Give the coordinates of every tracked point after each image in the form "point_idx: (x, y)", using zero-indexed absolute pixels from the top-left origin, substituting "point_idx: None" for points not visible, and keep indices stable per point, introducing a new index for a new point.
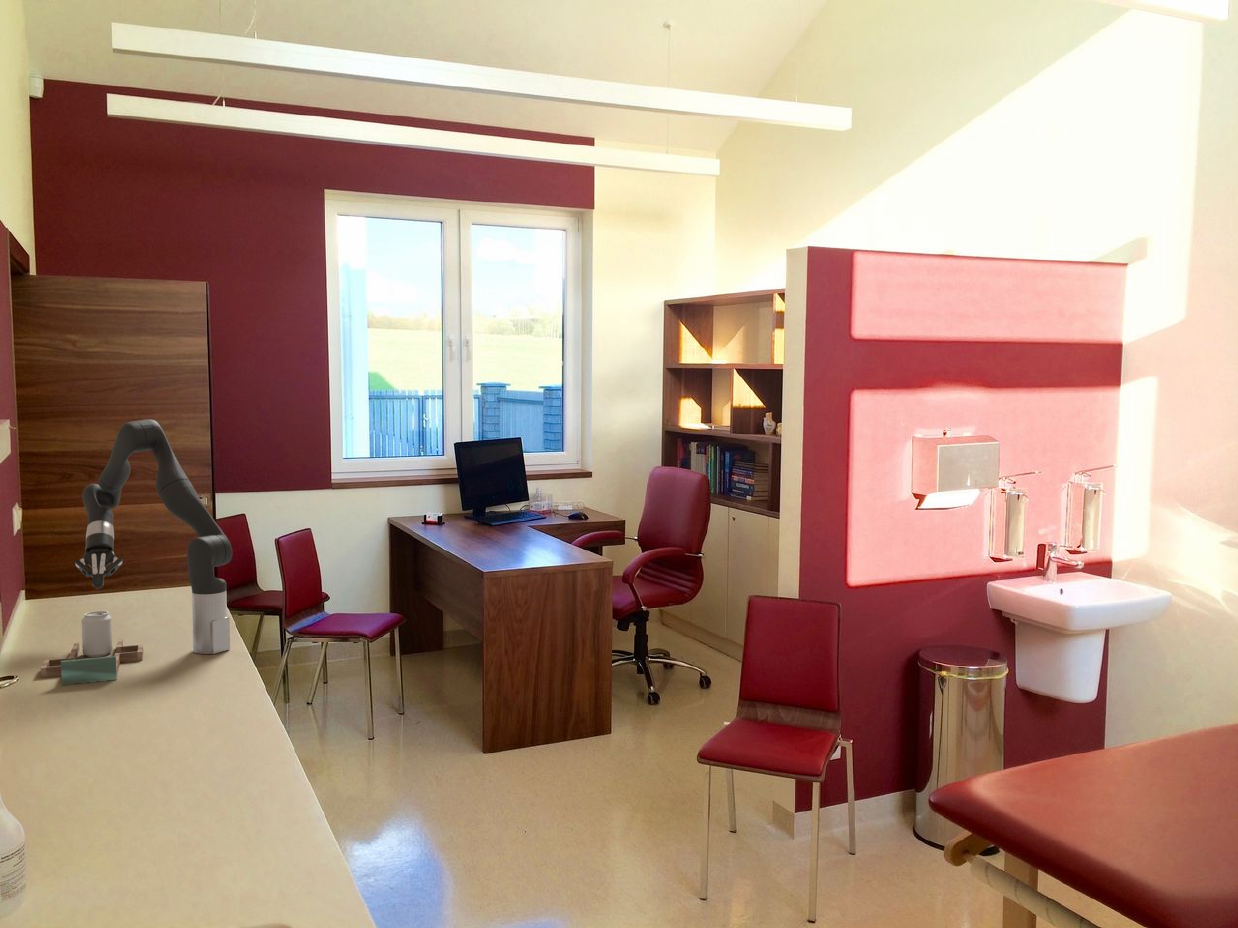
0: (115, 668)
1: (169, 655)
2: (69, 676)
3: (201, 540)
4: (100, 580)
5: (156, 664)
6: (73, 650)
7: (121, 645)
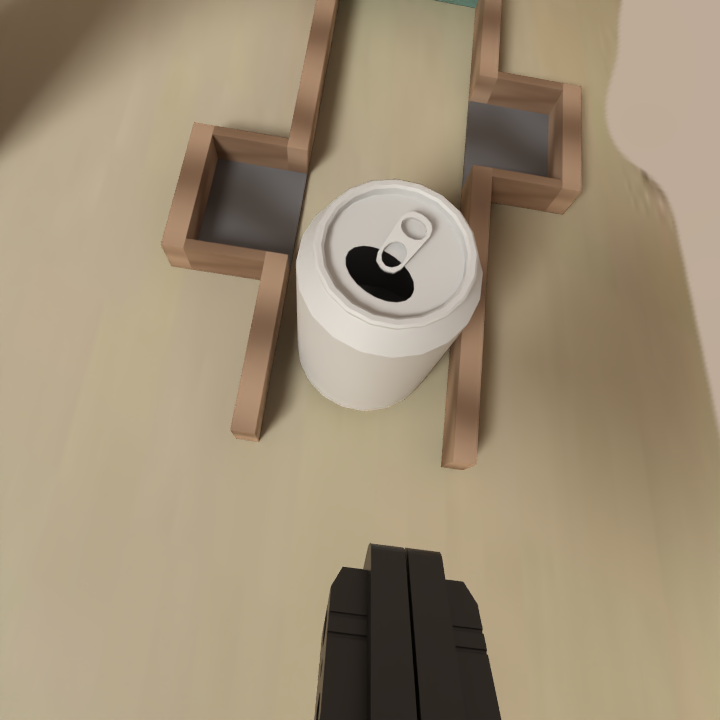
0: None
1: (79, 169)
2: None
3: None
4: (372, 596)
5: (165, 70)
6: None
7: (258, 290)
